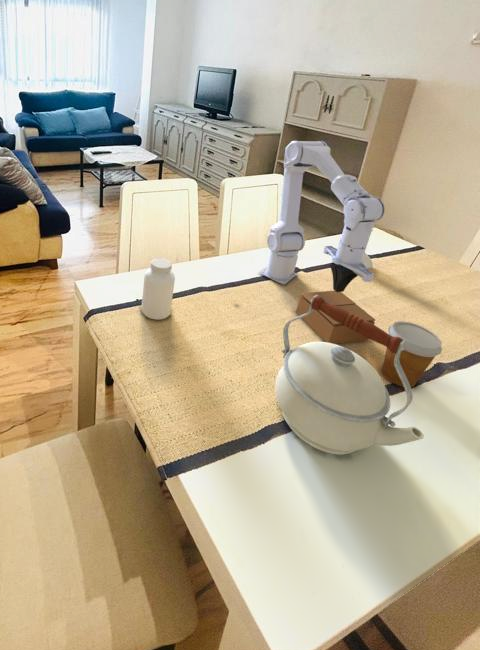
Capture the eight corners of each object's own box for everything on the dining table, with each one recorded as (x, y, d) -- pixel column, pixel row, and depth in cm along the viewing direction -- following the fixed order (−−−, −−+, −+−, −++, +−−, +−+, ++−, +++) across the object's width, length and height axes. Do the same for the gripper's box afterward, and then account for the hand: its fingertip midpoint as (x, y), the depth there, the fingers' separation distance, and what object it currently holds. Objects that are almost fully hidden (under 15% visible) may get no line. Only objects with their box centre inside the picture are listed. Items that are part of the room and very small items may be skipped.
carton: (295, 312, 107) (300, 293, 105) (332, 308, 110) (338, 289, 107) (327, 344, 95) (334, 324, 93) (368, 339, 98) (376, 319, 96)
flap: (300, 294, 105) (301, 293, 105) (338, 291, 107) (338, 290, 107) (316, 308, 99) (316, 306, 99) (355, 304, 102) (356, 303, 101)
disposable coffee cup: (414, 367, 90) (433, 326, 85) (430, 399, 81) (452, 355, 77) (369, 356, 92) (384, 315, 88) (379, 386, 84) (397, 342, 79)
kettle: (244, 403, 78) (268, 300, 68) (293, 365, 88) (321, 272, 79) (377, 517, 59) (436, 398, 50) (420, 453, 70) (476, 344, 60)
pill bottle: (174, 307, 106) (180, 260, 100) (164, 324, 99) (171, 274, 94) (147, 299, 109) (152, 252, 103) (136, 314, 102) (140, 265, 96)
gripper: (319, 231, 100) (306, 276, 105) (362, 259, 87) (345, 308, 92) (342, 230, 102) (329, 274, 107) (387, 257, 89) (370, 306, 94)
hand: (338, 290), depth 100 cm, fingers closed
